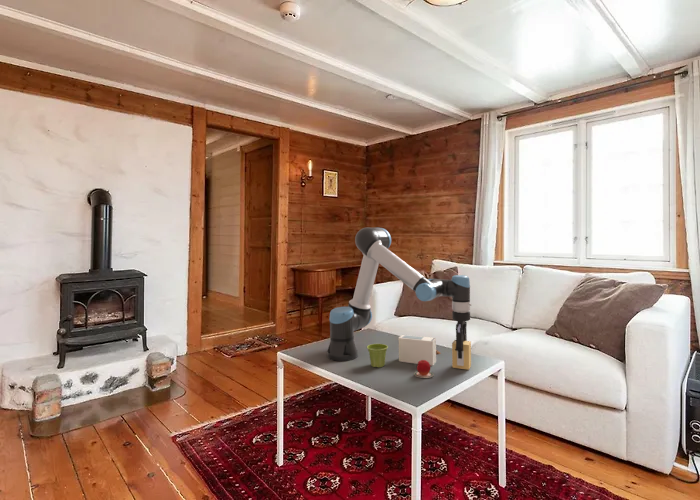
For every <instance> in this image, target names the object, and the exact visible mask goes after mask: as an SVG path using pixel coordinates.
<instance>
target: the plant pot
mask: <svg viewBox="0 0 700 500" xmlns="http://www.w3.org/2000/svg"><path fill="white" fill-rule="evenodd" d="M388 348H389V346H388V345H387V344H383V343H373V344H372V343H371V344H368V345H367V346H366V349H367V351H368V352H369V354H368V355H369V360H370V366H371V367H373V368H383V367H384V366H385V365H386V355H387V350H388Z"/></svg>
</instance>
